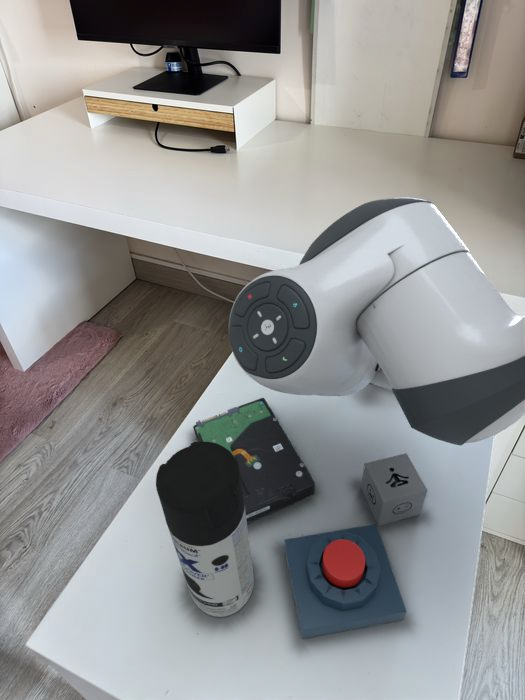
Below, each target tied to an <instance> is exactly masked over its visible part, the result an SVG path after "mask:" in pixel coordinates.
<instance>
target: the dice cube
mask: <svg viewBox="0 0 525 700" xmlns="http://www.w3.org/2000/svg"><path fill="white" fill-rule="evenodd" d="M360 489H361V491H362V493H363V496H364V498H365V500H366V502H367V505H368V506H369V509H370V511H371V513H372V515H373V517H374V520H375V522H376V525H377V527H379V526H383V525H388V524H390V523H395V522H397V521H398V522H399V521H402V520H405V519H410V518H412V517H416V516H420V515H421V512H422V509H423V505H424V503H425V499H426V497H427V494H428V489H427V487H426V485H425V483H424V482H423V480H422V478H421V477H420V474H419V473H418V471H417V469H416V467H415V466H414V464H413V462H412V460H411V459H410V457H409V455H408V454H407V452H405V453H401V454H397V455H393V456H388V457H386V458H381V459H377V460H372V461H368V462H365V463H364V467H363V473H362V479H361V486H360Z"/></svg>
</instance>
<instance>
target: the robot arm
mask: <svg viewBox="0 0 525 700" xmlns="http://www.w3.org/2000/svg"><path fill="white" fill-rule="evenodd" d="M228 340H229V345H230V348H231V352H232V354H233V356H234V359H235V360H236V363H237V364H238V365H239V367H240V368H241V370H242V371H243V372H244V373H245V374H246V375H247V376H248V377H249V378H251V380H253V381H254V382H256V383H258V384H259V385H261V386H263V387H264V388H267V389H270V390H272V391H275V392H279V393H281V394H282V393H283V394H287V395H296V396H319V397H346V396H350V395H353V394H356V393H358V392H360V391H361V390H363V389H364V388H366V387H367V386H368V385H370V384H369V383H372V384H375V385H376V386H378V387H380V388H382V389H383V388H384V389H386V390H389V391H392V393H393V395H394V397H395V399H396V401H397V403H398V405H399V407H400V408H401V411H402V412H403V415H404V417H405V419H406V420H407V422H408V424H409V426H410V428H411V429H413V430H415V431H417V432H419V433H421V434H424V435H426V436H428V437H431V438H433V439H436V440H439V441H442V442H445V443H449V444H451V445H456V446H463V445H465V444H471V443H476V442H480V441H483V440H486V439H489V438H491V437H493V436H496V435H498V434H500V433H501V432H503V431H505V430H506V429H508V428H509V427H511V426H513V425H514V424H515V423H517V422H518V421H519V420H520V419H521V418H522V417H524V416H525V314H524V315H523V316H521V315H519V314H517V313H516V312H515V311H513V309H511V307H510V305H508V304H507V302H506V301H505V300H504V298H503V297H502V295H501V294H500V293H499V291H498V290H497V288H496V287H495V286H494V284H493V283H492V282H491V281H490V279H489V278H488V276H487V275H486V274H485V273H484V271H483V270H482V268H481V267H480V265H479V264H478V263H477V261H476V260H475V259H474V258H473V256H472V254H471V251H470V250H469V249H468V247H467V246H466V244H465V243H464V242H463V240H462V239H461V238H460V236H459V235H458V234H457V232H456V231H455V230H454V229H453V227H452V226H451V224H449V222H448V221H447V220H446V218H445V217H444V216H443V214H442V213H441V212H440V210H438V208H437V206H436V204H434V202H432V201H429V200H426V199H422V198H416V197H393V198H391V197H390V198H383V199H375V200H371V201H367V202H365V203H363V204H361V205H359V206H357V207H355V208H353V209H351V210H350V211H348V212H347V213H345V214H344V215H342V216H341V217H339V218H338V219H336V220H335V221H334V222H333V223H331V224H330V225H329V226H328V227H327V228H326V229H324V230H323V231H322V232H321V233H320V234H319V235H318V236H317V237H316V239H314V241H312V243H311V244H310V245H309V246H308V249H307V250H306V251H305V253H304V255H303V257H302V258H301V260H300V262H299V264H298V265H294V266H291V267H286V268H279V269H274V270H270V271H267V272H265V273H263V274H261V275H259V276H256V277H255V278H254V279H252V280H251V281H250V282H248V283H247V284H246V285H245V286H244V287H243V288H242V289H241V290H240V291H239V293H238V294H237V296H236V298H235V300H234V302H233V304H232V307H231V310H230V313H229V320H228Z"/></svg>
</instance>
